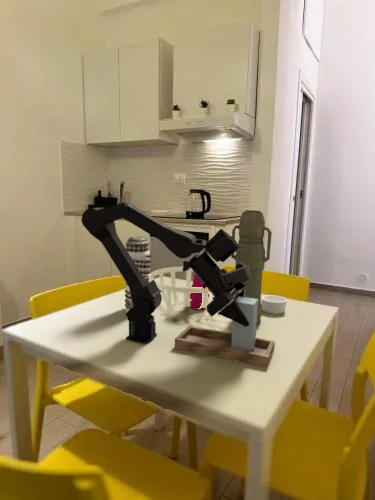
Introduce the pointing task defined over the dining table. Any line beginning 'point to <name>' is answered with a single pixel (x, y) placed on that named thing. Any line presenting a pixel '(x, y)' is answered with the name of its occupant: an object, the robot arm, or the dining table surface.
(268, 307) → the ramekin
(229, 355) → the wooden tray
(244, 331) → the slate post
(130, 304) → the decorative candle
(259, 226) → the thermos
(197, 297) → the pepper mill
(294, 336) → the dining table surface
